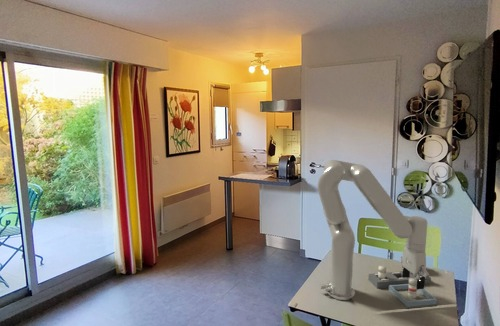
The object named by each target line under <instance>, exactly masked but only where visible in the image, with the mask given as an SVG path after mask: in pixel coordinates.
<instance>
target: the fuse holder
mask: <svg viewBox="0 0 500 326" xmlns="http://www.w3.org/2000/svg"><path fill="white" fill-rule="evenodd" d="M402 274H403V270H402V271H390V272H387V271H386V278H385V279H381V280H380V279H379V278H378V272H377V273H368V275H367V276H368V280H367V281H369V282H370V283H371V285H373V286H374V287H375V288H376V289H385V288H388V289H389V285H400V284H409V278H414V279H416V280H418V278H417V277H415V276H413V273H411V272H410V277H409V278H403V277H402ZM421 277H422V275H420V278H421ZM431 279H432V278H431V277H430V275H429V276H428V279H427V280H426V281H425V284H424V286H425V285H431V281H432V280H431Z"/></svg>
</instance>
